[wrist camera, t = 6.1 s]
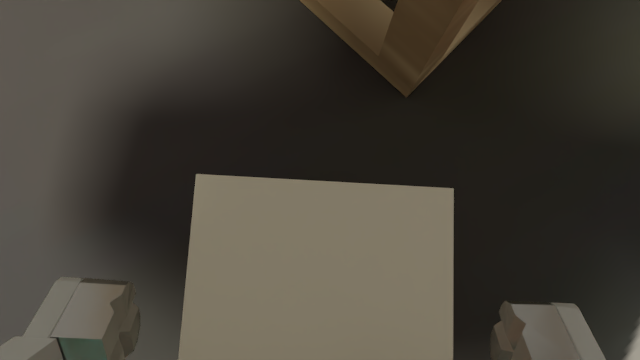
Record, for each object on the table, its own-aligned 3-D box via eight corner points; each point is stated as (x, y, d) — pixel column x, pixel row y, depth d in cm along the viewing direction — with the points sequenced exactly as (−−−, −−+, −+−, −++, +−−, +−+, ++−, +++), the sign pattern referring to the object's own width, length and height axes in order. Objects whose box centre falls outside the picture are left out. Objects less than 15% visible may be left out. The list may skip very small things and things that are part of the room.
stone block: (234, 367, 16) (169, 453, 8) (245, 221, 17) (195, 173, 9) (379, 374, 16) (452, 465, 8) (383, 229, 17) (453, 188, 9)
